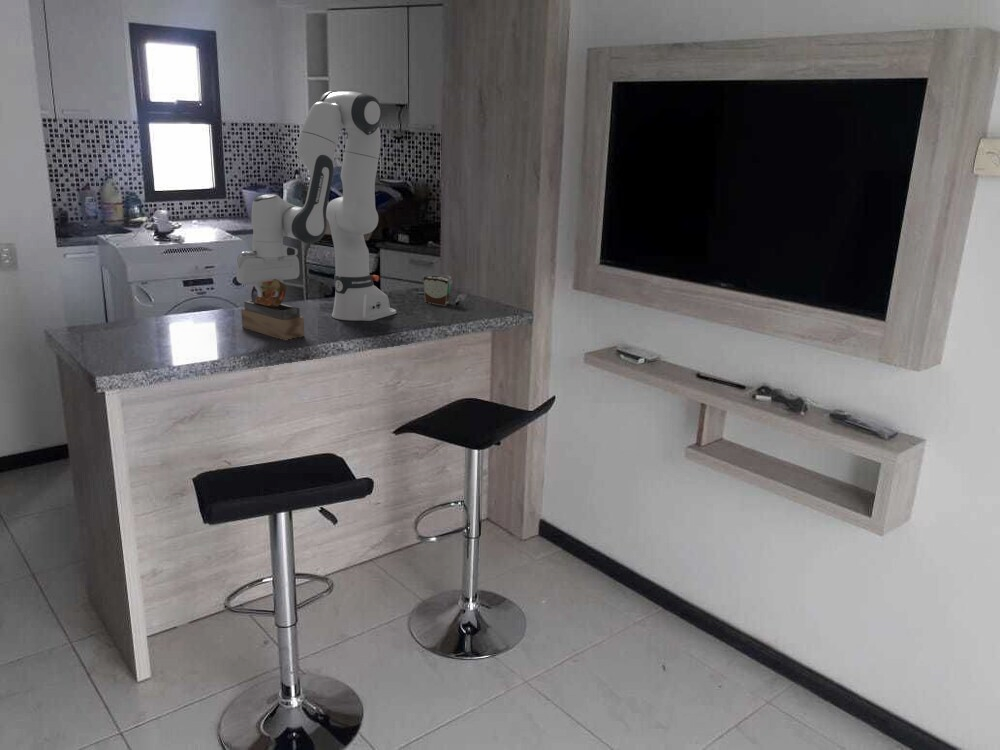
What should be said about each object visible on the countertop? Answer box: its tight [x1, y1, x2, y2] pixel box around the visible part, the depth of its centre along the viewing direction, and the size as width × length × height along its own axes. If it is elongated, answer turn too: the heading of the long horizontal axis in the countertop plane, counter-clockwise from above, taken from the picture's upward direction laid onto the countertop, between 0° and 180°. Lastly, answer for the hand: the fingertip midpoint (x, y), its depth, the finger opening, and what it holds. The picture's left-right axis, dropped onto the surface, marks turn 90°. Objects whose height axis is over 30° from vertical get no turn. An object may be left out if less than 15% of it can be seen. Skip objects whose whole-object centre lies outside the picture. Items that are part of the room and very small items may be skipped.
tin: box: [250, 279, 287, 308], centre depth 244 cm, size 15×3×8 cm, turn 45°
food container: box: [421, 274, 453, 307], centre depth 296 cm, size 12×6×10 cm, turn 58°
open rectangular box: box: [240, 299, 305, 341], centre depth 247 cm, size 7×22×8 cm, turn 50°
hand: (269, 295), depth 245 cm, fingers open, 4 cm apart
